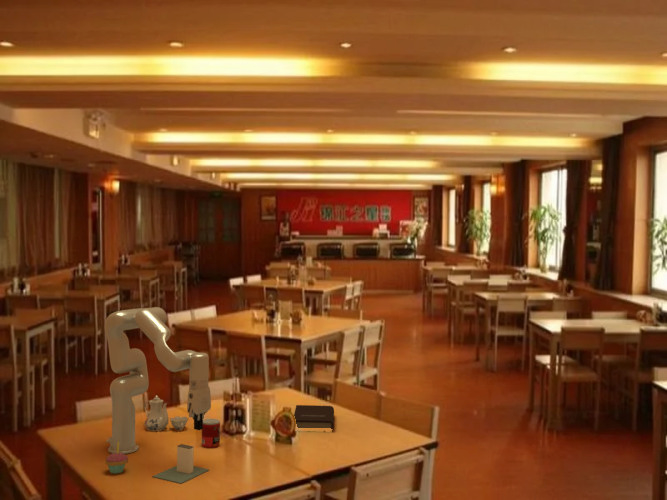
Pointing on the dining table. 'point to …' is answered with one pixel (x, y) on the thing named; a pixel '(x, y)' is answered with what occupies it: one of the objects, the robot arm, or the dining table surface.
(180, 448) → the slab
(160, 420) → the chinaware
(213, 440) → the canned food
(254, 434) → the dining table surface
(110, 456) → the cupcake
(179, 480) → the mat
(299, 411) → the book
